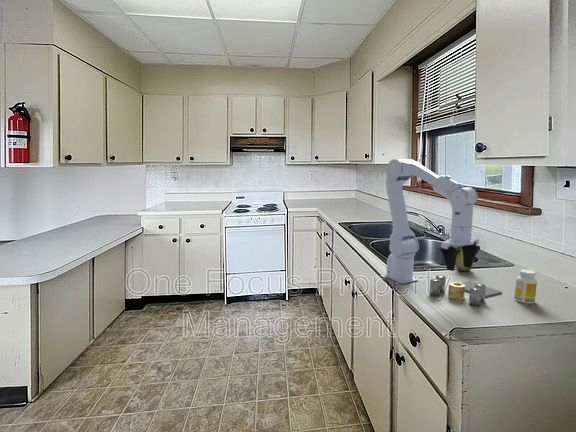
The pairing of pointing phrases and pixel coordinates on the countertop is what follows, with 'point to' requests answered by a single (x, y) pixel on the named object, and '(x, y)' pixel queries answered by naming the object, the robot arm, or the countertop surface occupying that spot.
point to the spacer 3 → (475, 296)
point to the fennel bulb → (461, 261)
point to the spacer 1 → (434, 287)
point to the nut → (456, 291)
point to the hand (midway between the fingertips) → (458, 268)
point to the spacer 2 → (441, 282)
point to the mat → (487, 291)
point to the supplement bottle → (526, 287)
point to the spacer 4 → (482, 287)
